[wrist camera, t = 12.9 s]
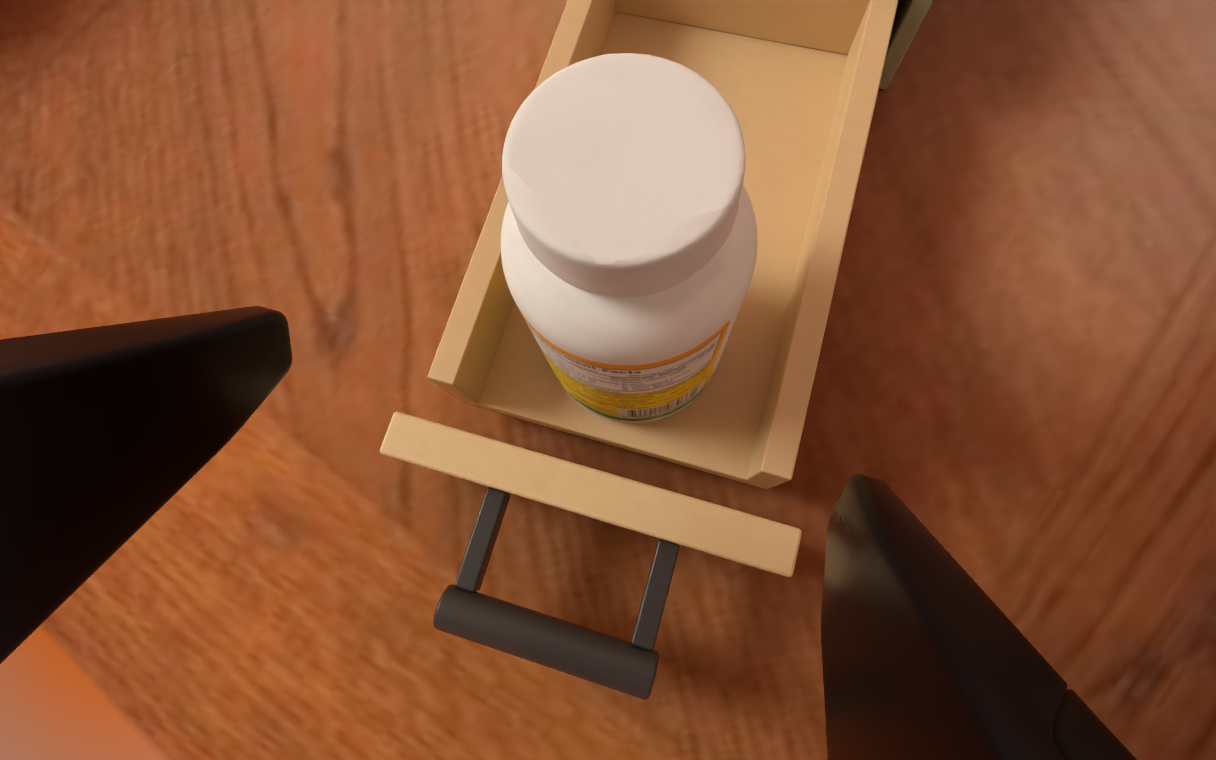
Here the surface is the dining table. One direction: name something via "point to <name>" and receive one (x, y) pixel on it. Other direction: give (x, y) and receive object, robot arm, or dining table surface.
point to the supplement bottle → (628, 231)
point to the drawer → (753, 355)
